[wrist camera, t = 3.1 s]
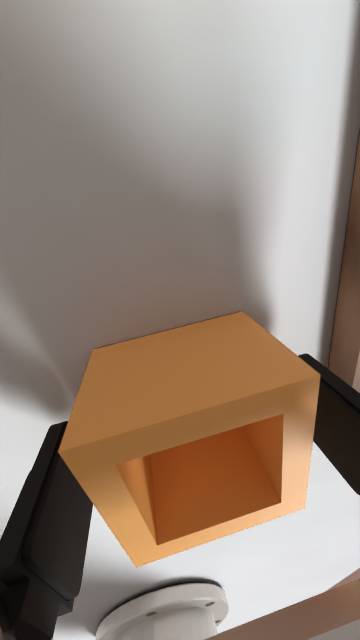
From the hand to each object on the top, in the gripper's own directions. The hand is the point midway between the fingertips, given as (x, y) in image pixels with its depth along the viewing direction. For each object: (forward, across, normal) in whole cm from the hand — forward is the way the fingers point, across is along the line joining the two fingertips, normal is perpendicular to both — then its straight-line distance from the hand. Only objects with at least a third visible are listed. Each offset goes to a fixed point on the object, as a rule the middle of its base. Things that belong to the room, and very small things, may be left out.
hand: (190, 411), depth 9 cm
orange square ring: (+2, 0, 0) cm, 2 cm away
